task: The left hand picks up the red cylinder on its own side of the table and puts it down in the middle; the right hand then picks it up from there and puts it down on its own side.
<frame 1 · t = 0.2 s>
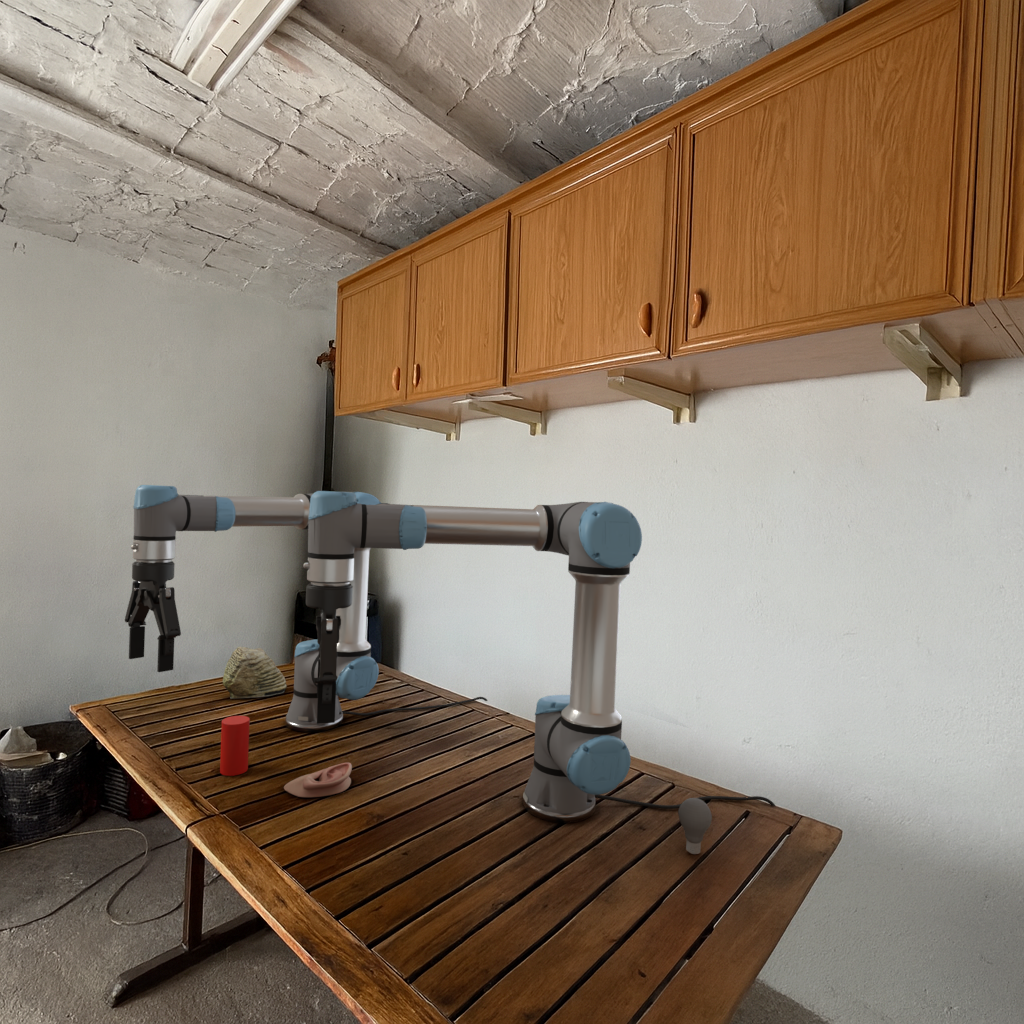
left hand: (150, 664, 130), 28 cm above the table, tool pointing down, fingers open, 13 cm apart
right hand: (325, 708, 107), 28 cm above the table, tool pointing down, fingers open, 13 cm apart
anatomical model: (318, 787, 138), on the table
light bulb: (693, 853, 118), on the table
red cylinder: (234, 770, 145), on the table
fossil: (254, 694, 198), on the table
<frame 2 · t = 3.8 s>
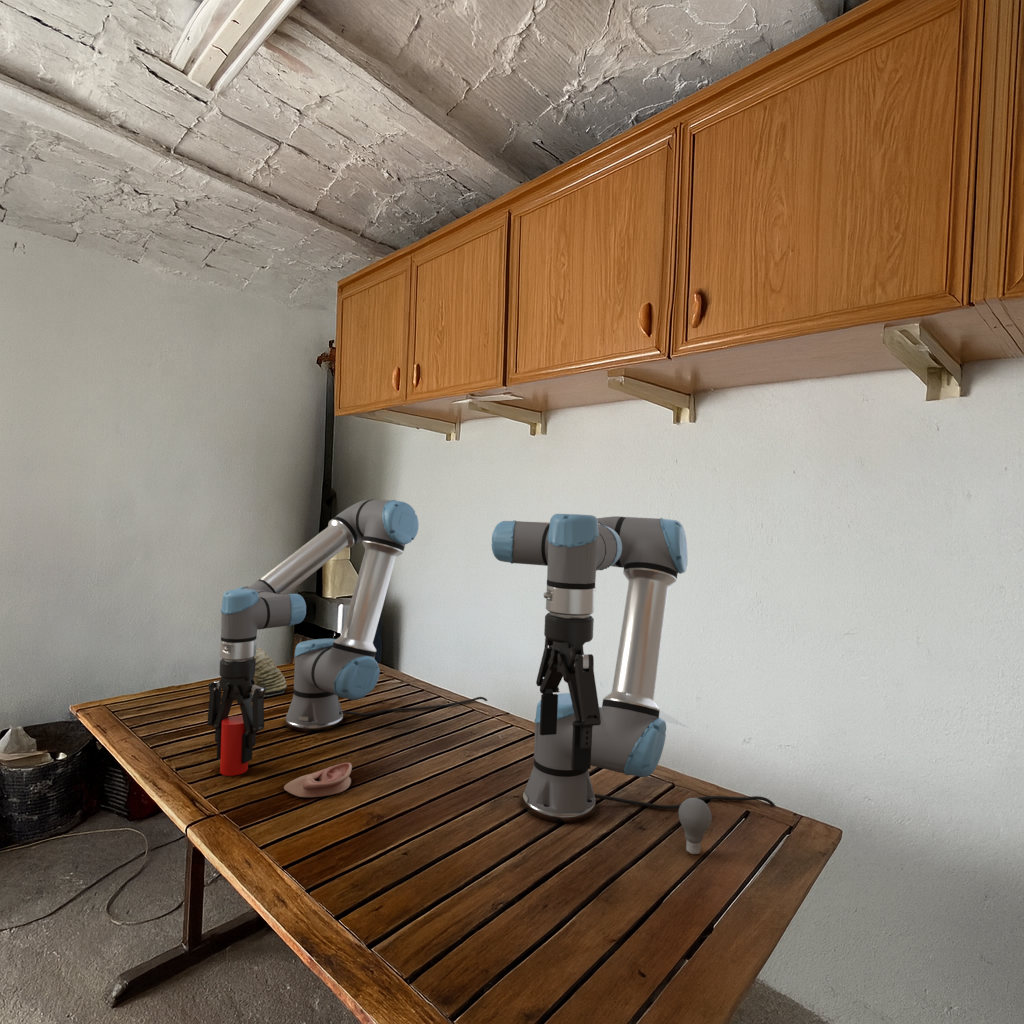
left hand: (234, 758, 145), 3 cm above the table, tool pointing down, fingers closed on red cylinder, 6 cm apart
right hand: (563, 750, 98), 26 cm above the table, tool pointing down, fingers open, 13 cm apart
red cylinder: (234, 770, 145), on the table, touching left hand
everything else where it was.
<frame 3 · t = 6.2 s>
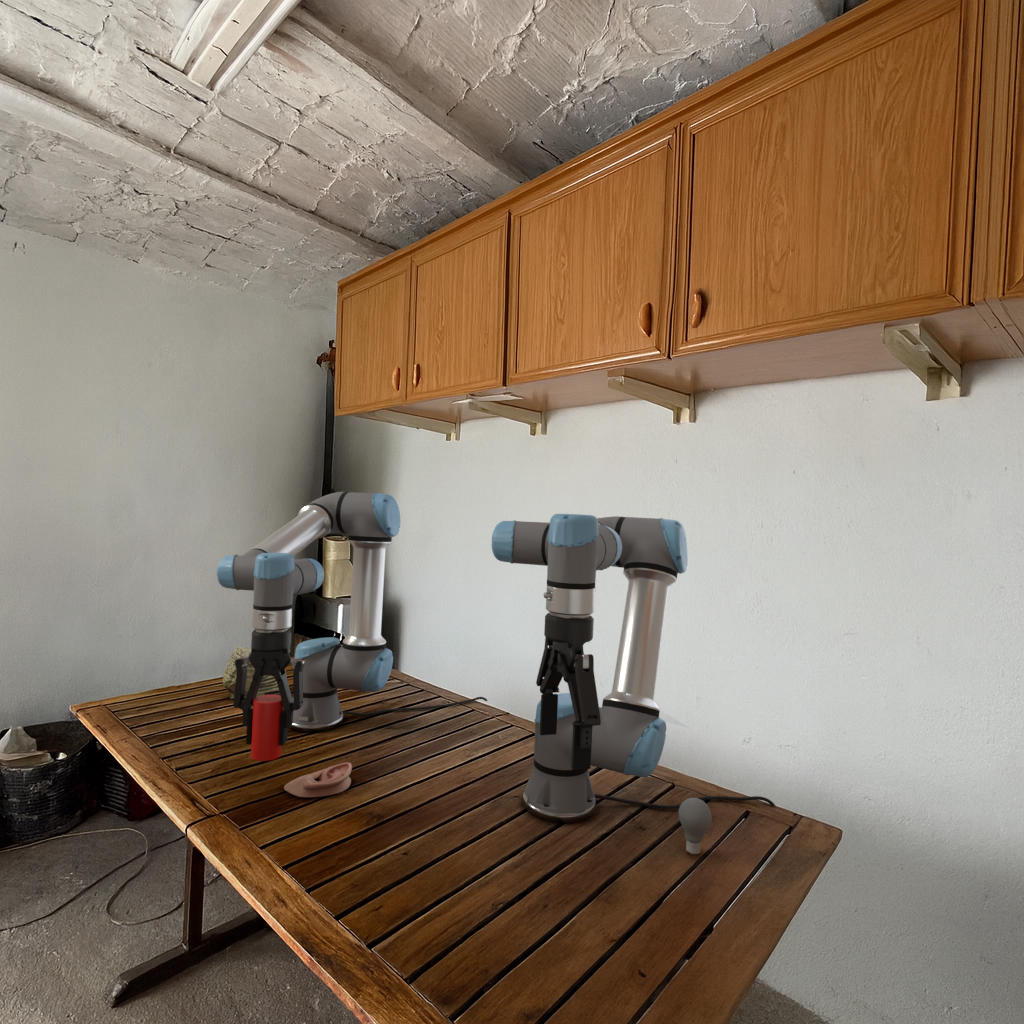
left hand: (266, 742, 129), 13 cm above the table, tool pointing down, fingers closed on red cylinder, 6 cm apart
right hand: (563, 750, 98), 26 cm above the table, tool pointing down, fingers open, 13 cm apart
red cylinder: (266, 755, 129), point 10 cm above the table, touching left hand
everything else where it was.
when the left hand's fingers open (5 cm above the table, at t = 8.8 s): red cylinder drops 2 cm, on the table.
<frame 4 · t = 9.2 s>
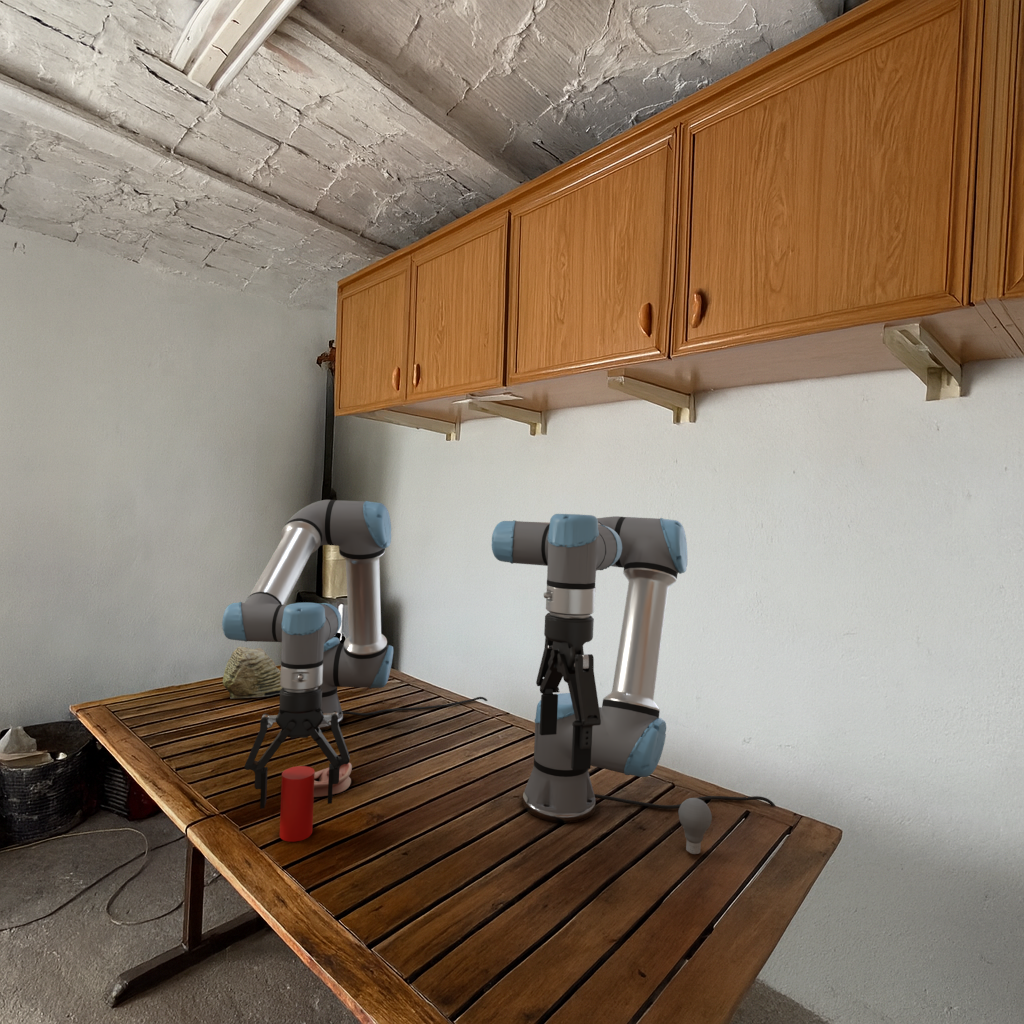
left hand: (297, 802, 119), 6 cm above the table, tool pointing down, fingers open, 11 cm apart
right hand: (563, 750, 98), 26 cm above the table, tool pointing down, fingers open, 13 cm apart
red cylinder: (296, 833, 119), on the table
everything else where it was.
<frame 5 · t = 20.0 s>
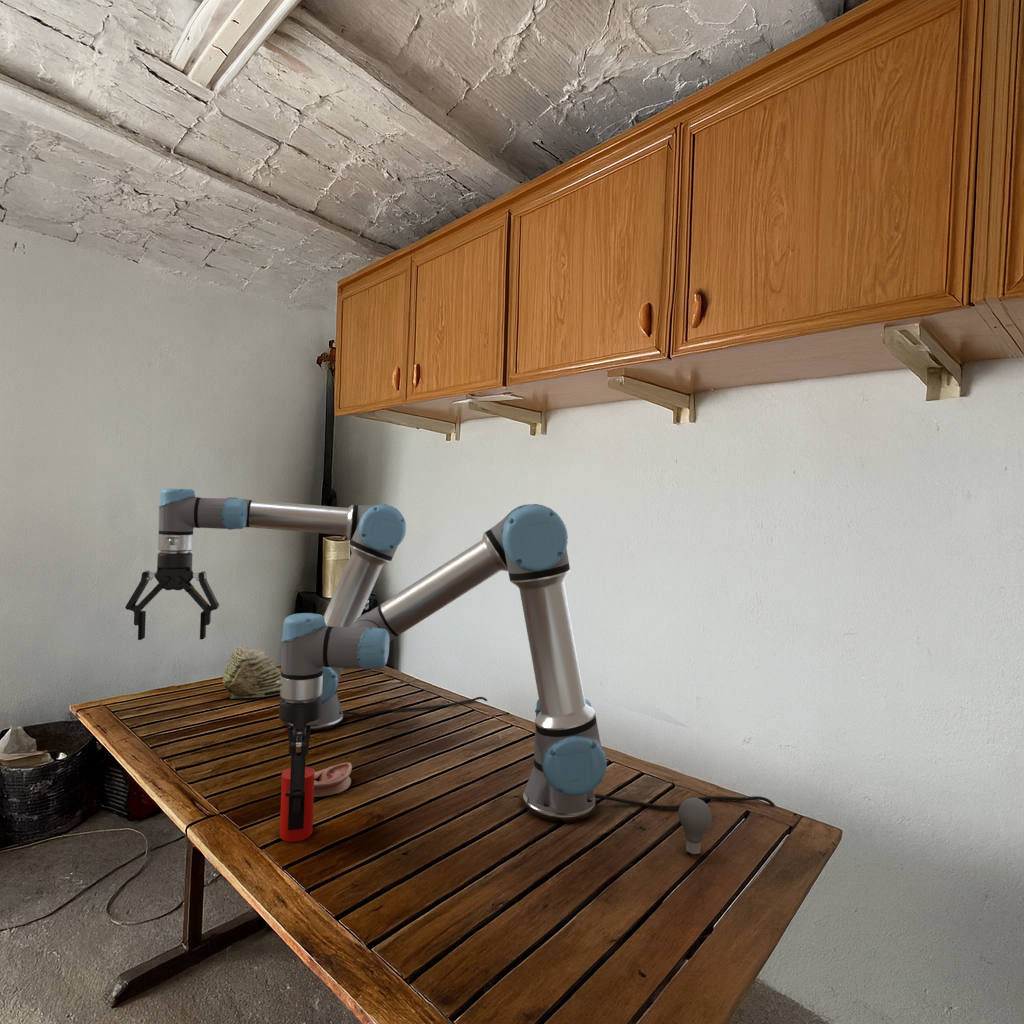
left hand: (172, 638, 155), 27 cm above the table, tool pointing down, fingers open, 13 cm apart
right hand: (296, 819, 119), 3 cm above the table, tool pointing down, fingers closed on red cylinder, 6 cm apart
red cylinder: (296, 833, 119), on the table, touching right hand
everything else where it was.
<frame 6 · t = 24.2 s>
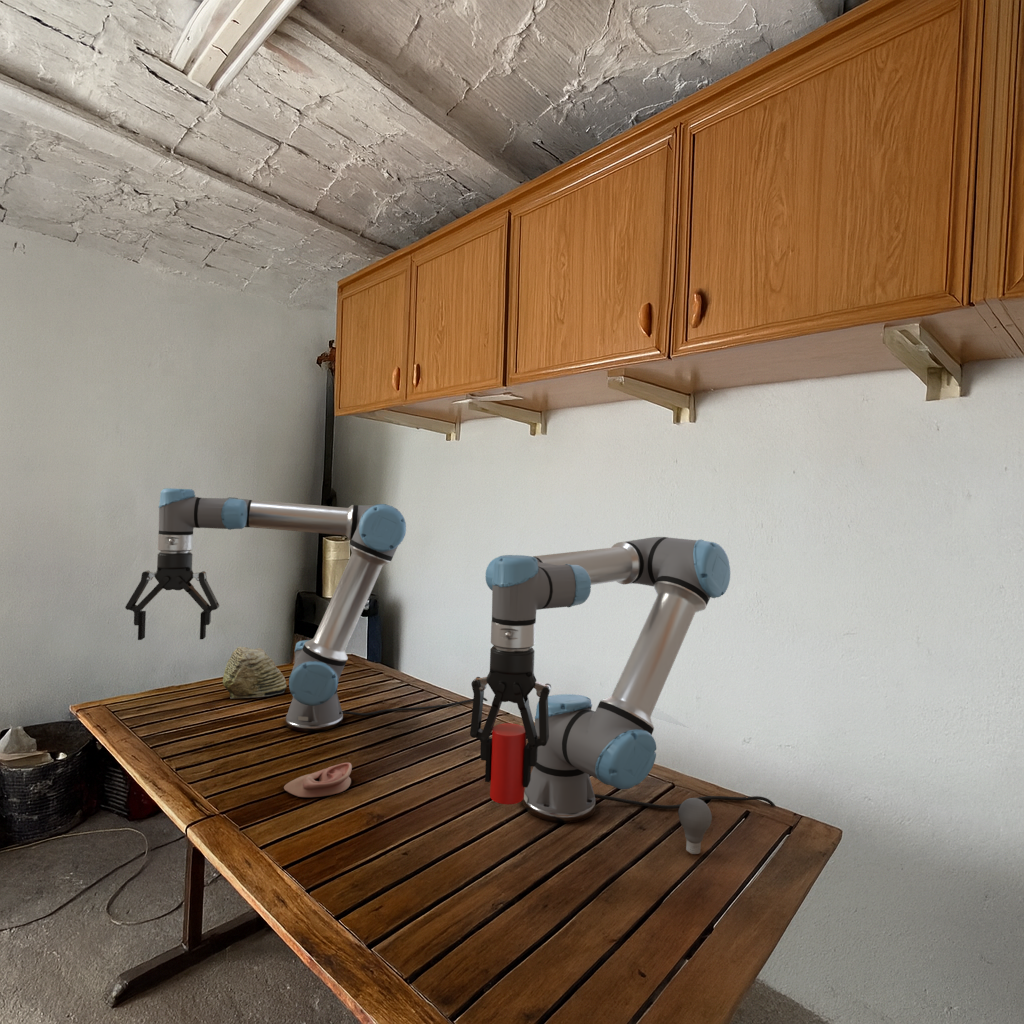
left hand: (172, 638, 155), 27 cm above the table, tool pointing down, fingers open, 13 cm apart
right hand: (507, 780, 108), 16 cm above the table, tool pointing down, fingers closed on red cylinder, 6 cm apart
red cylinder: (507, 796, 108), point 14 cm above the table, touching right hand
everything else where it was.
when the right hand's fingers open (5 cm above the table, at t = 28.5 s): red cylinder drops 2 cm, on the table.
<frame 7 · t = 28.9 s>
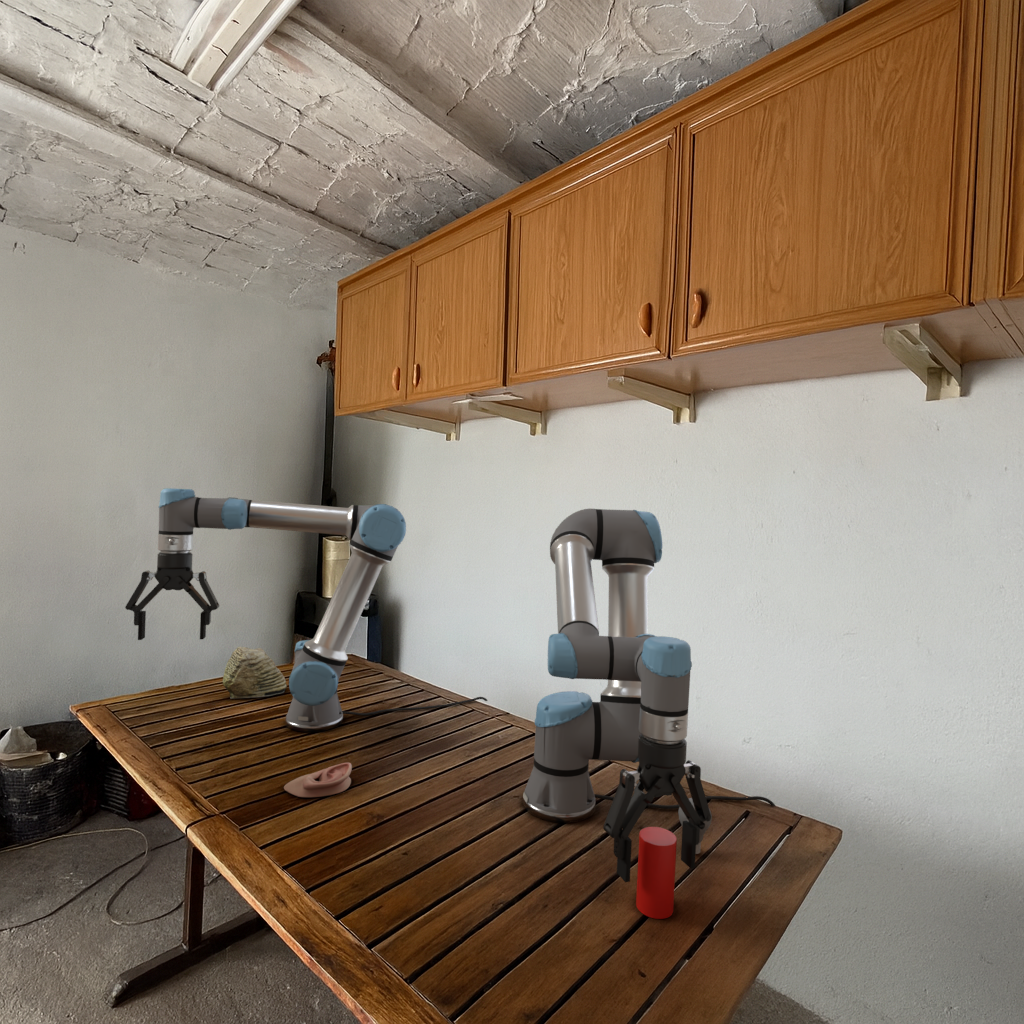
left hand: (172, 638, 155), 27 cm above the table, tool pointing down, fingers open, 13 cm apart
right hand: (656, 870, 102), 6 cm above the table, tool pointing down, fingers open, 11 cm apart
red cylinder: (654, 907, 102), on the table
everything else where it was.
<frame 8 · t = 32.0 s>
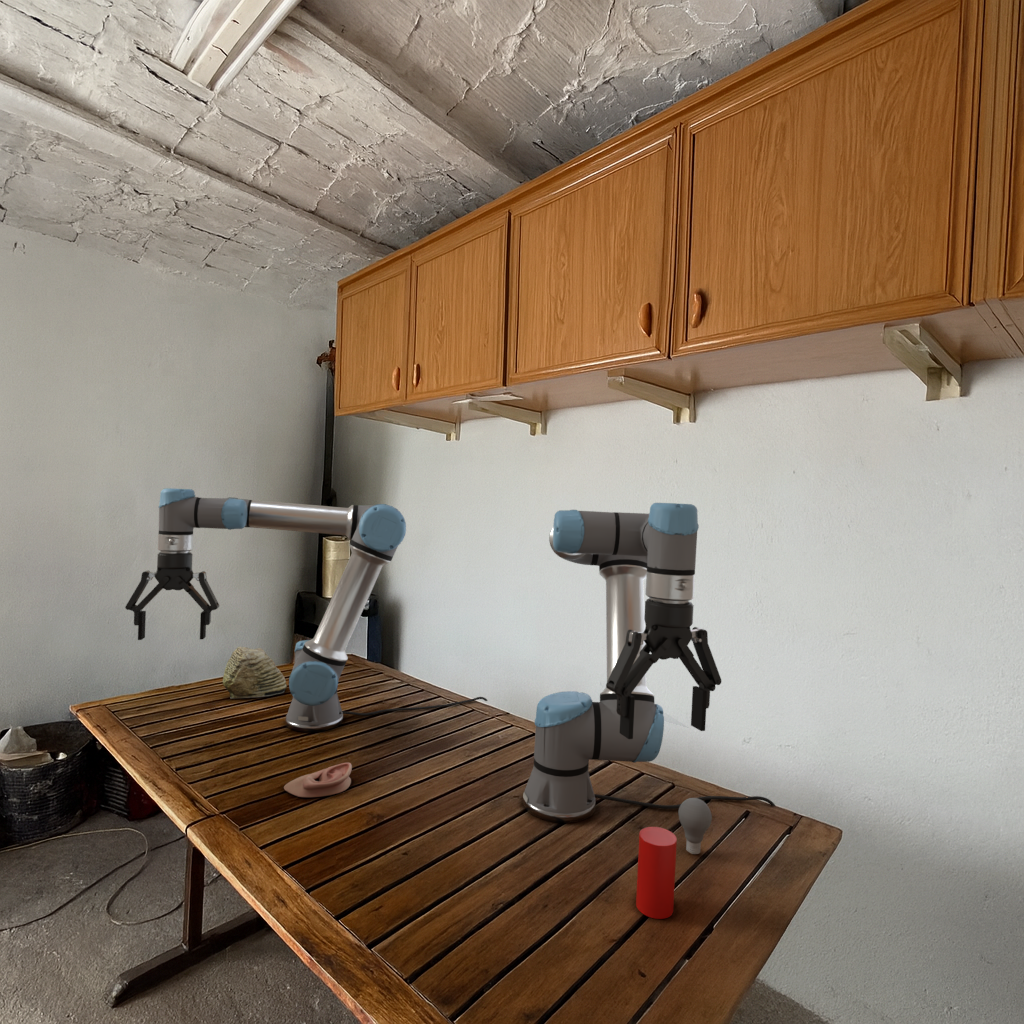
left hand: (172, 638, 155), 27 cm above the table, tool pointing down, fingers open, 13 cm apart
right hand: (662, 732, 101), 28 cm above the table, tool pointing down, fingers open, 13 cm apart
nothing on the table moved.
at the end: red cylinder inside the target area (0.1 cm from its centre), on the table; red cylinder tilted 0°; the two hands never held the red cylinder at the same time; the left hand is holding nothing; the right hand is holding nothing; red cylinder at rest at the end (0.0 cm/s) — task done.
